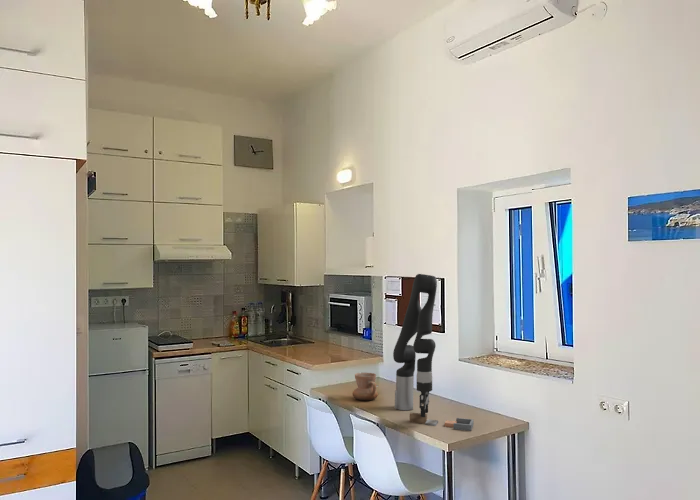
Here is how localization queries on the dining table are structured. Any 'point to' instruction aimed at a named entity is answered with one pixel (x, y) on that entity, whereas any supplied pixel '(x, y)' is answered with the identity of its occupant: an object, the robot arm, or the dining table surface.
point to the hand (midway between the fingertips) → (424, 414)
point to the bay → (464, 424)
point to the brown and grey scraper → (422, 419)
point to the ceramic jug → (365, 386)
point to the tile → (450, 423)
